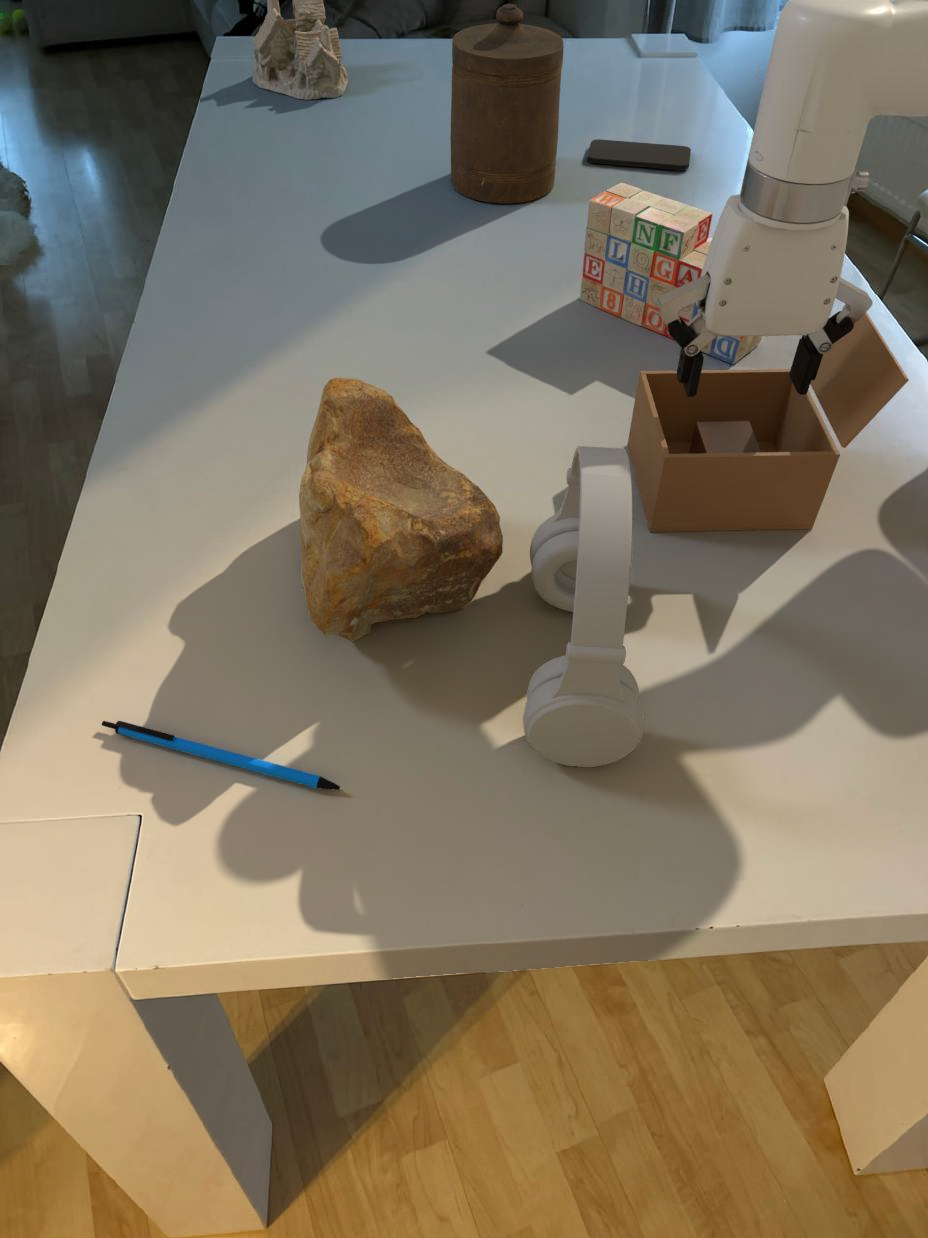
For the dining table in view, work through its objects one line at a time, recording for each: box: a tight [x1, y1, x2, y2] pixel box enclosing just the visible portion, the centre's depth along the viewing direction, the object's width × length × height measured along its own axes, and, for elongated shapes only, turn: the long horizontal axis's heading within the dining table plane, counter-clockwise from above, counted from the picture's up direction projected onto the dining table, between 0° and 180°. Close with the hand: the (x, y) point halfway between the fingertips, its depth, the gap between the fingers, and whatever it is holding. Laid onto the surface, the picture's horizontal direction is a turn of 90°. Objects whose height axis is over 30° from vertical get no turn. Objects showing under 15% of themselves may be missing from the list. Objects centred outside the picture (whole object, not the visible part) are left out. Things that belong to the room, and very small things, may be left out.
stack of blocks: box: [579, 182, 763, 365], centre depth 106 cm, size 21×6×12 cm, turn 49°
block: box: [689, 421, 761, 454], centre depth 88 cm, size 5×5×5 cm
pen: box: [101, 720, 343, 791], centre depth 69 cm, size 1×19×1 cm, turn 73°
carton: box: [627, 368, 841, 533], centre depth 87 cm, size 15×13×8 cm
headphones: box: [522, 445, 645, 768], centre depth 68 cm, size 20×8×19 cm, turn 176°
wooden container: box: [450, 3, 565, 205], centre depth 128 cm, size 15×15×22 cm
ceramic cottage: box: [251, 0, 349, 101], centre depth 156 cm, size 16×16×15 cm
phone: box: [586, 138, 692, 171], centre depth 142 cm, size 7×1×15 cm
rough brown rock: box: [298, 377, 504, 643], centre depth 76 cm, size 23×17×15 cm
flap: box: [810, 311, 910, 449], centre depth 82 cm, size 7×13×1 cm
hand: (742, 386), depth 83 cm, fingers open, 9 cm apart
